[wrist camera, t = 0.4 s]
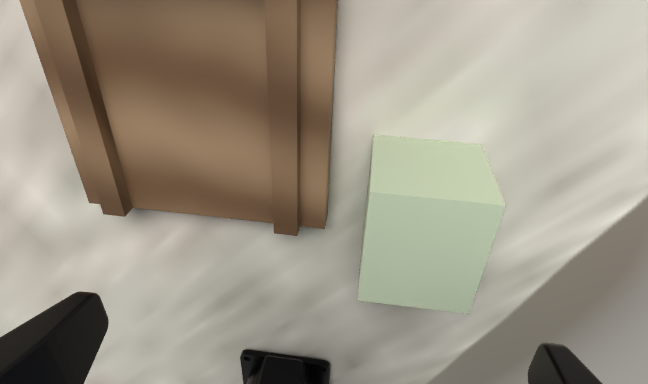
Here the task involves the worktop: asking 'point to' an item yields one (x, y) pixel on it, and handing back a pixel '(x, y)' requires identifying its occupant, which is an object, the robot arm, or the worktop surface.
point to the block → (427, 223)
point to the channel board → (195, 103)
